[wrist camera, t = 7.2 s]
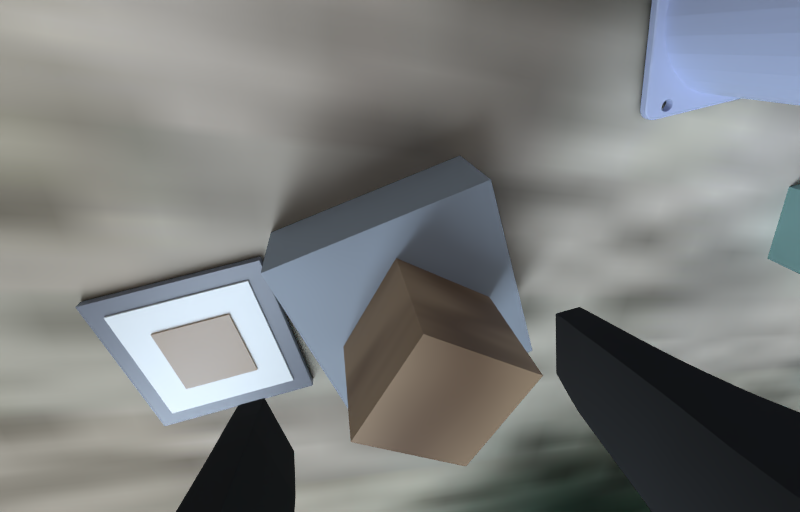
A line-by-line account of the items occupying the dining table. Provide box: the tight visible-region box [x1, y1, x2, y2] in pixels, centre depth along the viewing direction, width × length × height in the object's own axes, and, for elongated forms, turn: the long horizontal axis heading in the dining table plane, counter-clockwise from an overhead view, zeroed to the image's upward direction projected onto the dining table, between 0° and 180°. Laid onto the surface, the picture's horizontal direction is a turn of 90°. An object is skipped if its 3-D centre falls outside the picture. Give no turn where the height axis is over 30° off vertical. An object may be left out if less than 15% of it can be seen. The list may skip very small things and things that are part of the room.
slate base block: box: [261, 156, 532, 408], centre depth 18 cm, size 9×9×4 cm
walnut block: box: [343, 258, 543, 466], centre depth 15 cm, size 5×5×5 cm
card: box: [76, 257, 313, 426], centre depth 19 cm, size 8×8×1 cm
